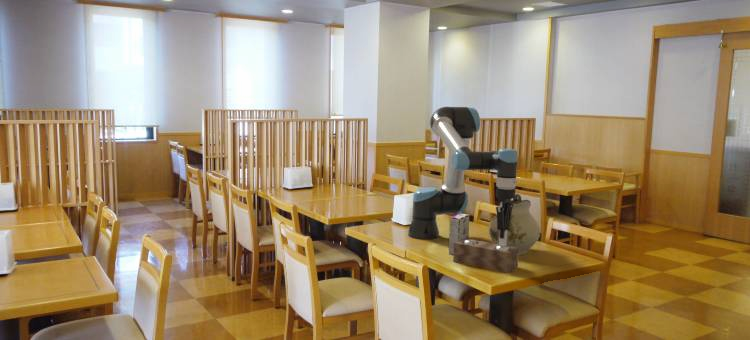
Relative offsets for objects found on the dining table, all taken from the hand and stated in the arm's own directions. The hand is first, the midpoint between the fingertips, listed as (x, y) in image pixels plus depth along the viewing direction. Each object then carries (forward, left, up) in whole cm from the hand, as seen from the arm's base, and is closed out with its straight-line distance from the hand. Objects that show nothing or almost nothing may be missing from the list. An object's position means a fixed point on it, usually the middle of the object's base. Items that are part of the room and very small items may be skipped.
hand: (502, 245), depth 230 cm
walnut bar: (-7, 0, -9) cm, 11 cm away
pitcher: (-6, +28, -9) cm, 30 cm away
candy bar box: (-24, +10, -9) cm, 27 cm away
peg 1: (-14, 0, -8) cm, 16 cm away
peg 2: (0, 0, -8) cm, 8 cm away
